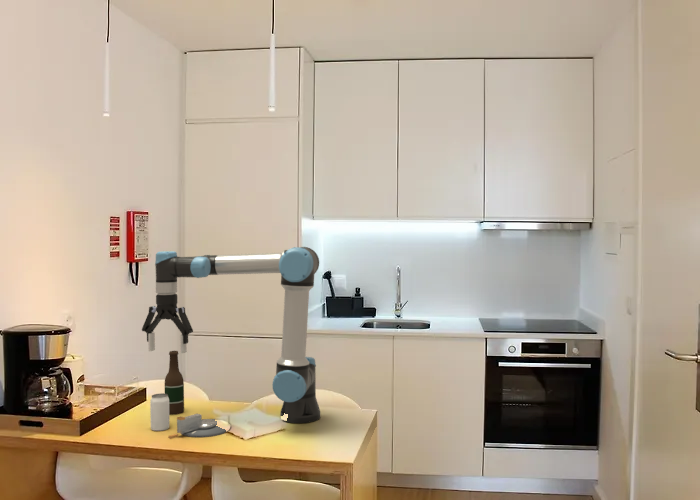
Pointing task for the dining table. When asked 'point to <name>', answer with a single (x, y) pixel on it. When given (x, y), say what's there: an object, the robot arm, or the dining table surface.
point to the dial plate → (205, 432)
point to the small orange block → (173, 436)
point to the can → (159, 412)
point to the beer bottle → (174, 386)
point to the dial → (193, 423)
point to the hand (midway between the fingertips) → (167, 351)
